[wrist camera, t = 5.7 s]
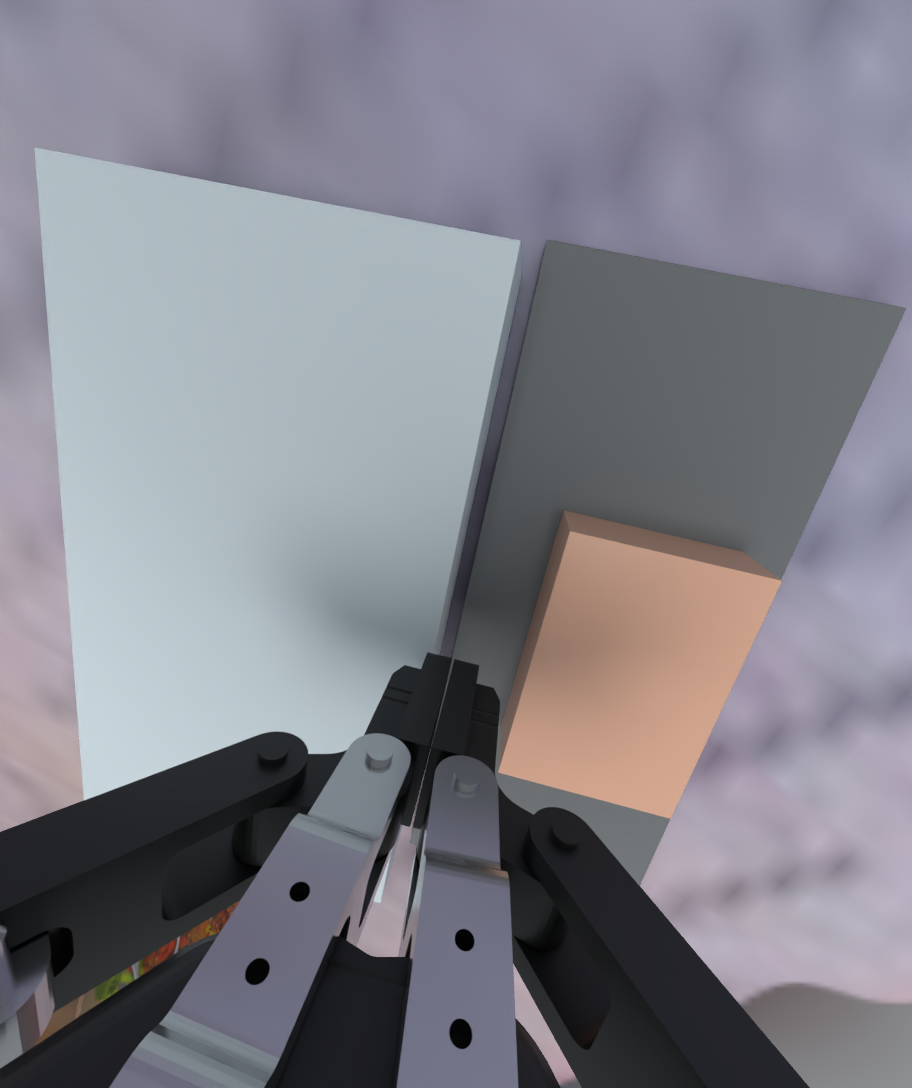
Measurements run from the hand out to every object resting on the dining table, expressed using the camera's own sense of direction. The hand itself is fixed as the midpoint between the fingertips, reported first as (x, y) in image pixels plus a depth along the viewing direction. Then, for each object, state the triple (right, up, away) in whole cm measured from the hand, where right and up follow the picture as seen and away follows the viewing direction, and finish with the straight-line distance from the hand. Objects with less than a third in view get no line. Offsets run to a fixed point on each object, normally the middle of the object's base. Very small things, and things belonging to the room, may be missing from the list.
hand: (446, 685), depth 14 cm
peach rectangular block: (+6, -1, +2) cm, 6 cm away
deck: (-6, +3, +5) cm, 8 cm away
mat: (+5, +1, +4) cm, 7 cm away
